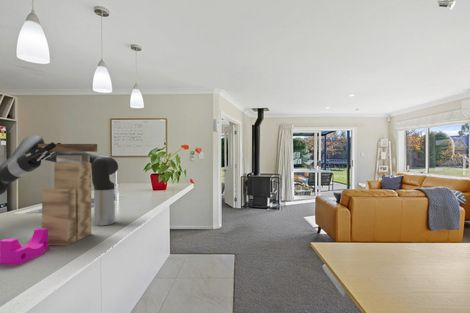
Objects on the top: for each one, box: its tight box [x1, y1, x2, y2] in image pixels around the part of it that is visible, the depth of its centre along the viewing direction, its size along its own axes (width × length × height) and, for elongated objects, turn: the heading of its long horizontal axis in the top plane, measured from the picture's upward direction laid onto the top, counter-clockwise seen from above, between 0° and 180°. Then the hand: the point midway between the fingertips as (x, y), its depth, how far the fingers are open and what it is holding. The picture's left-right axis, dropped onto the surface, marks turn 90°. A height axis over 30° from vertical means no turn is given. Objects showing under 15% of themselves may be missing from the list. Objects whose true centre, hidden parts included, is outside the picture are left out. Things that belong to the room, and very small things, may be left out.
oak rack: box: [41, 155, 92, 246], centre depth 113 cm, size 16×10×34 cm, turn 176°
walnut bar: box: [38, 143, 98, 153], centre depth 116 cm, size 3×24×3 cm, turn 86°
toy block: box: [0, 227, 49, 266], centre depth 94 cm, size 15×6×8 cm, turn 174°
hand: (57, 144), depth 116 cm, fingers closed on walnut bar, 3 cm apart
